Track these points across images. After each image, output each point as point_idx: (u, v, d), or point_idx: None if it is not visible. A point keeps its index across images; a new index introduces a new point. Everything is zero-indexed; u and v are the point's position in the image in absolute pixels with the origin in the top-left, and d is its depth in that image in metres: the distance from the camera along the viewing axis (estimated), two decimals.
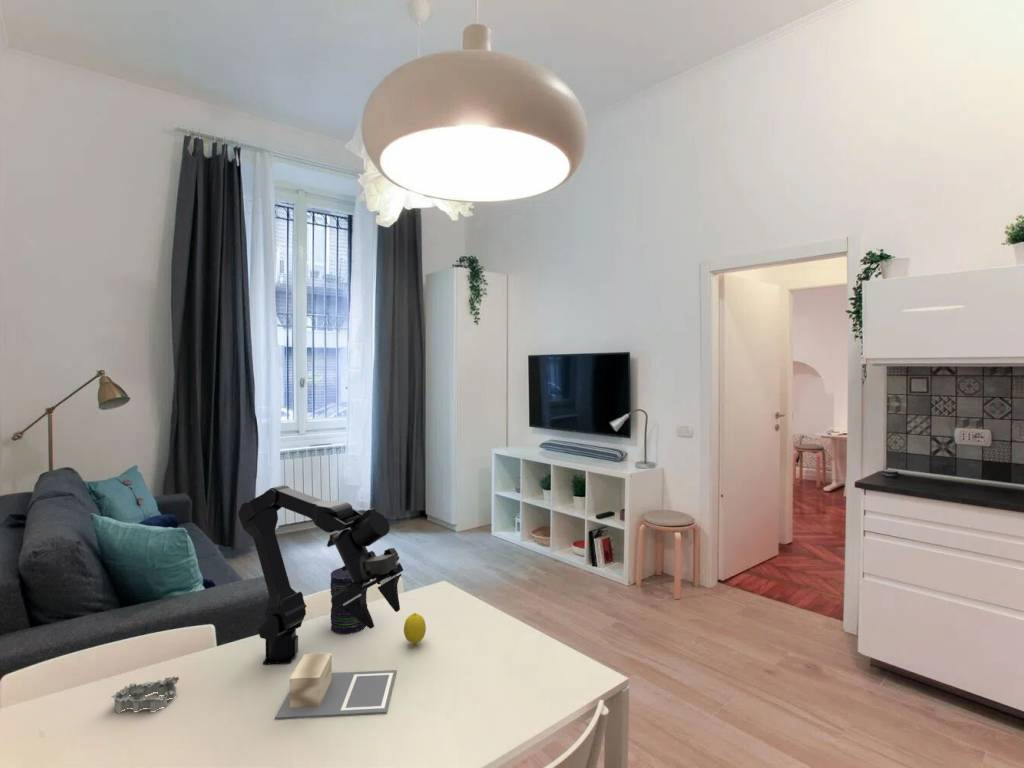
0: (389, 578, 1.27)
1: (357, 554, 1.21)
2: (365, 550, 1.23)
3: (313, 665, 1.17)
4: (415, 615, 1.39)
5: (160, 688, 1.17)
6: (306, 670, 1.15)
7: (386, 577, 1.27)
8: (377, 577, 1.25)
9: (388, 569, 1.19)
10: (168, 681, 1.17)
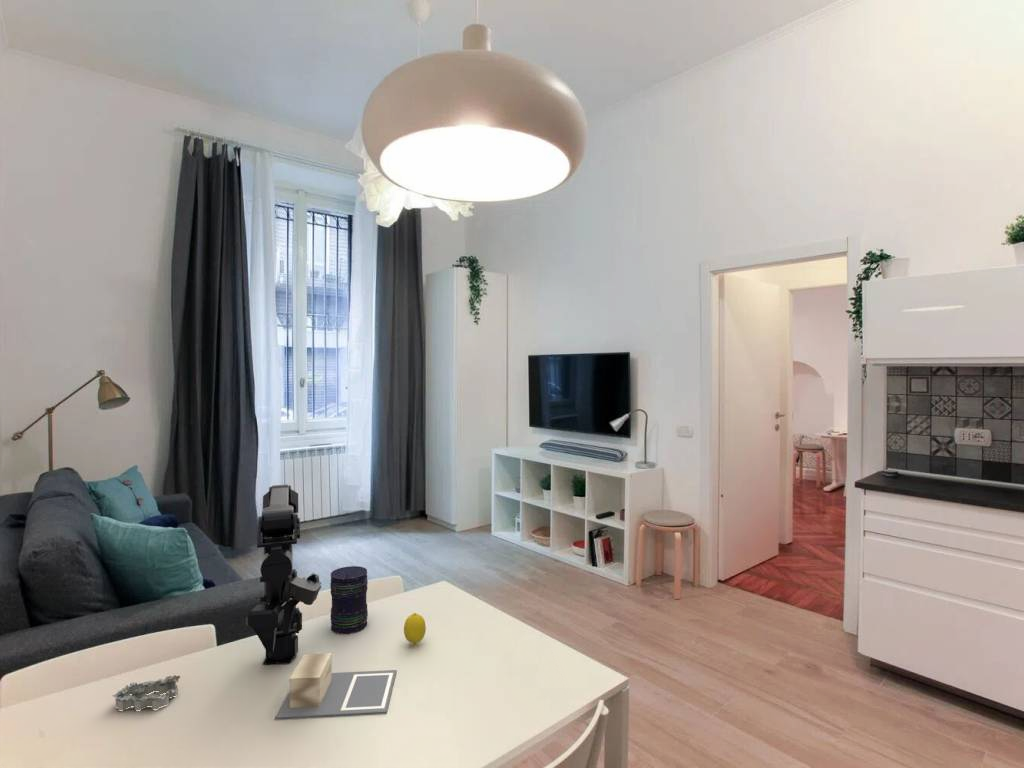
0: (292, 598, 1.22)
1: None
2: (292, 568, 1.17)
3: (313, 665, 1.17)
4: (415, 615, 1.39)
5: (161, 687, 1.17)
6: (306, 670, 1.15)
7: None
8: None
9: (313, 600, 1.15)
10: (169, 680, 1.18)
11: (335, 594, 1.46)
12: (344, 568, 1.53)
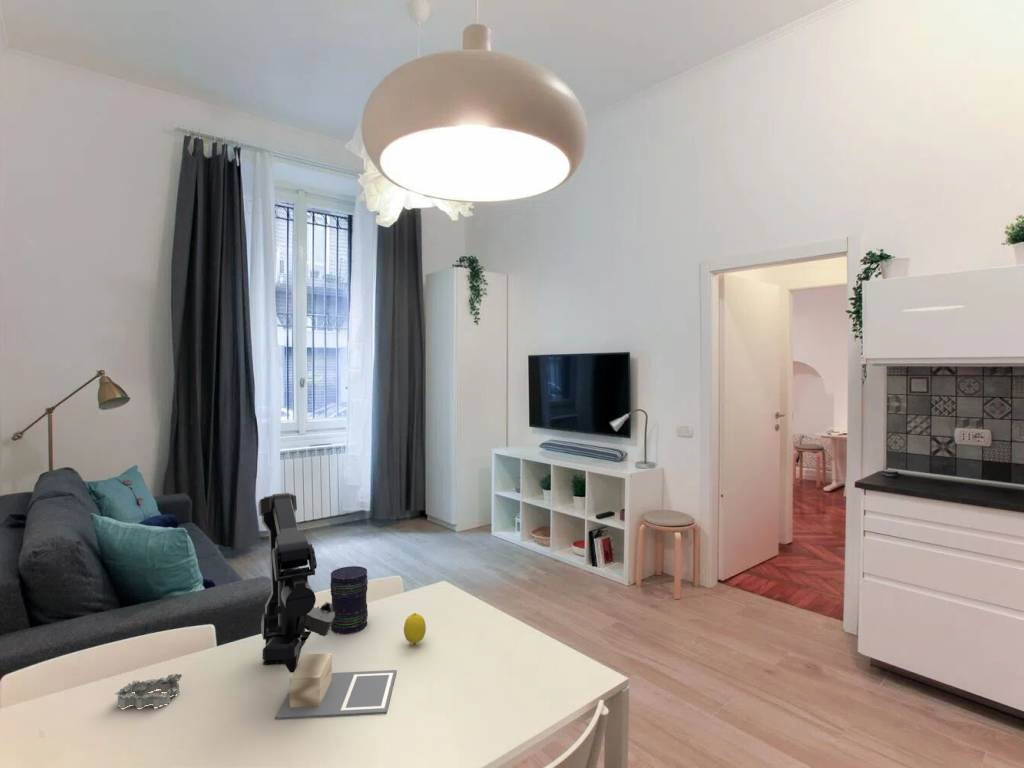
0: None
1: None
2: None
3: (313, 665, 1.17)
4: (415, 615, 1.39)
5: (163, 685, 1.18)
6: (306, 670, 1.15)
7: None
8: None
9: (328, 631, 1.16)
10: (171, 678, 1.18)
11: (335, 594, 1.46)
12: (345, 568, 1.53)
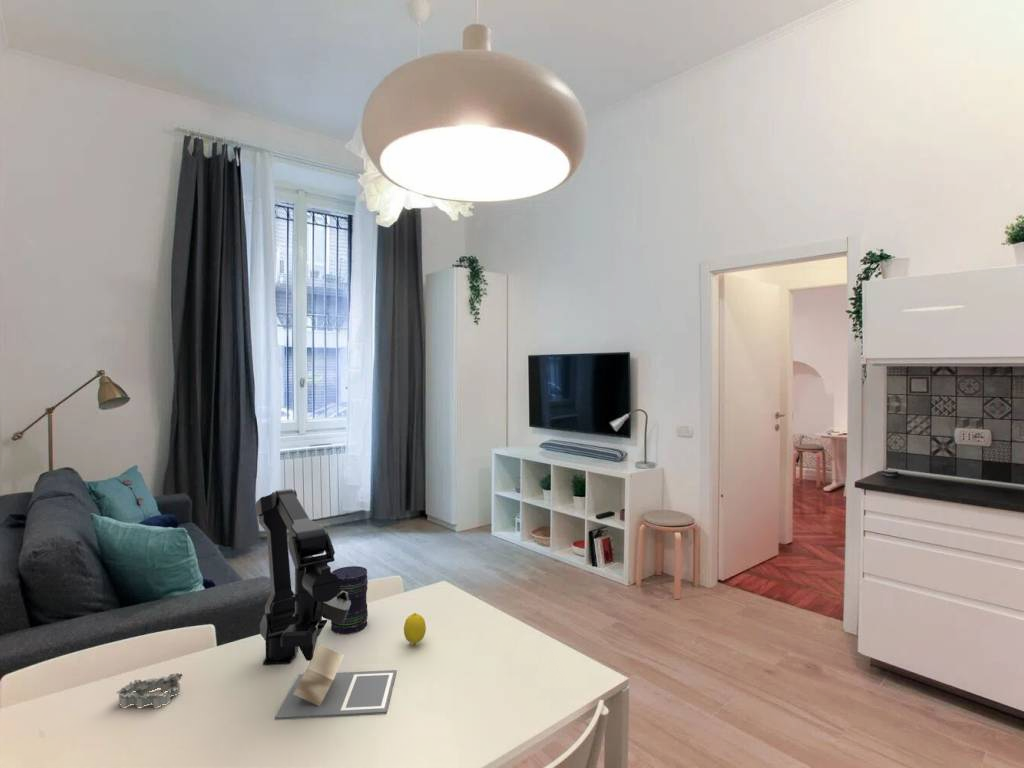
0: None
1: None
2: None
3: (328, 662, 1.17)
4: (415, 615, 1.39)
5: (164, 684, 1.18)
6: (321, 665, 1.15)
7: None
8: None
9: (344, 619, 1.16)
10: (172, 678, 1.19)
11: None
12: (345, 568, 1.53)
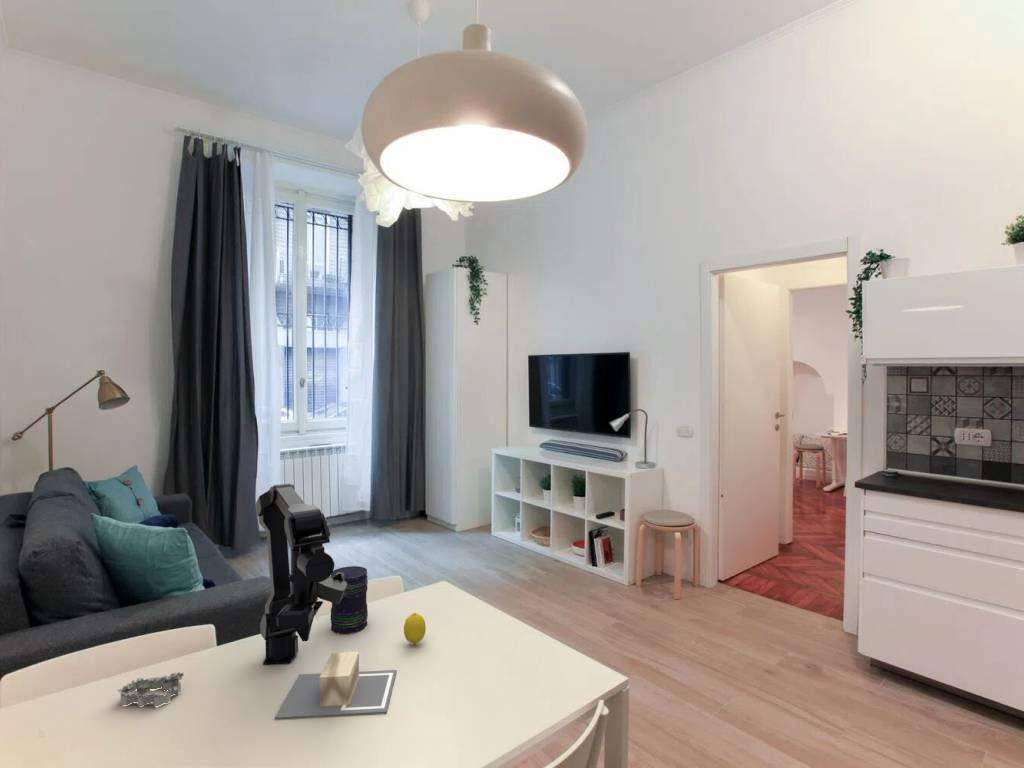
0: None
1: None
2: None
3: (354, 679, 1.18)
4: (415, 615, 1.39)
5: (165, 684, 1.19)
6: (352, 680, 1.16)
7: None
8: None
9: (340, 600, 1.16)
10: (173, 677, 1.19)
11: None
12: (345, 568, 1.53)
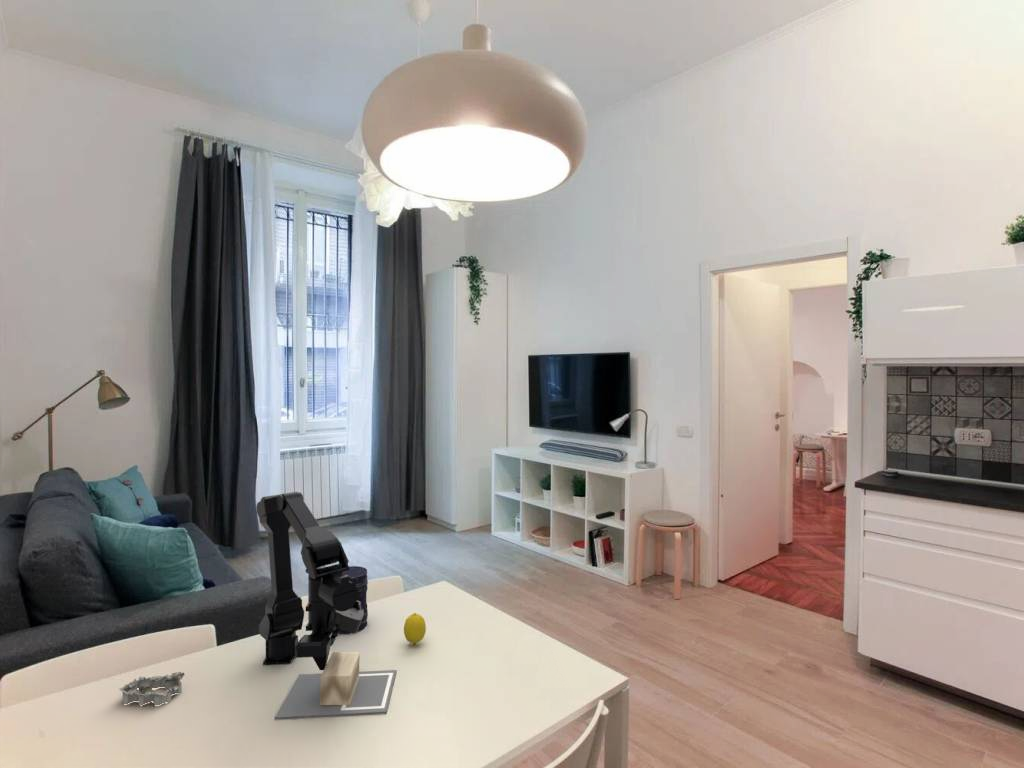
0: None
1: None
2: None
3: (354, 679, 1.18)
4: (415, 615, 1.39)
5: (167, 683, 1.19)
6: (353, 680, 1.16)
7: None
8: None
9: (357, 629, 1.17)
10: (174, 676, 1.19)
11: None
12: None
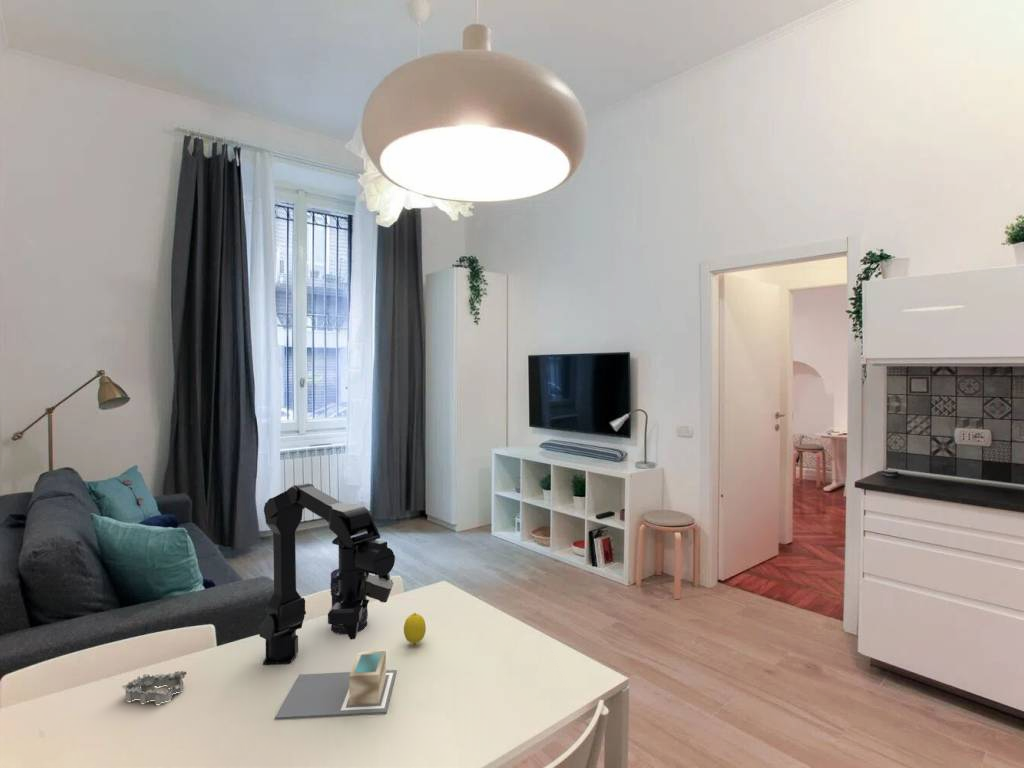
0: None
1: (361, 570, 1.16)
2: None
3: None
4: (415, 615, 1.39)
5: (169, 681, 1.19)
6: None
7: (356, 600, 1.19)
8: None
9: (387, 598, 1.17)
10: (176, 675, 1.20)
11: (335, 594, 1.46)
12: None
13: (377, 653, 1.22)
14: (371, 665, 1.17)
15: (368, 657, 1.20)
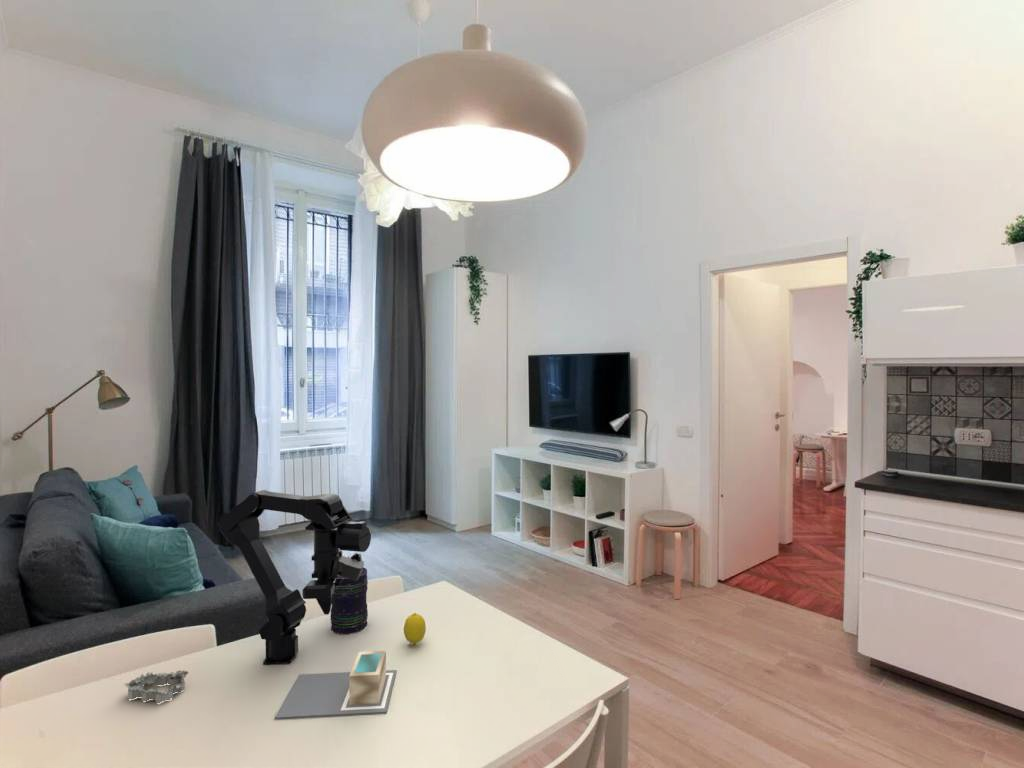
0: None
1: (334, 552, 1.28)
2: (338, 549, 1.31)
3: None
4: (415, 615, 1.39)
5: (171, 680, 1.20)
6: None
7: None
8: None
9: (358, 577, 1.29)
10: (178, 674, 1.20)
11: (335, 594, 1.46)
12: None
13: (377, 653, 1.22)
14: (371, 665, 1.17)
15: (368, 657, 1.20)
